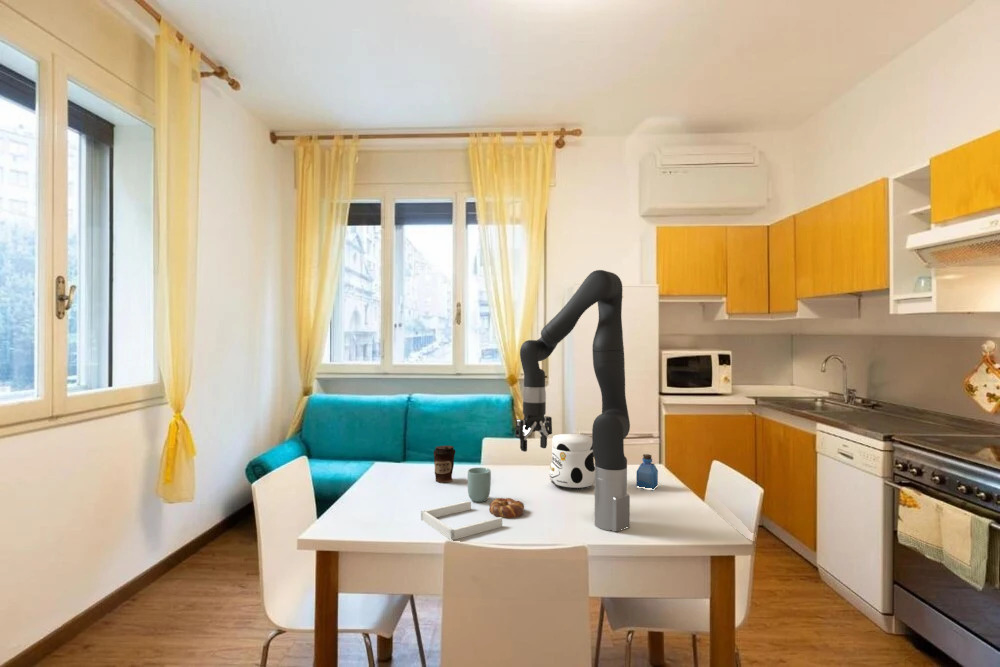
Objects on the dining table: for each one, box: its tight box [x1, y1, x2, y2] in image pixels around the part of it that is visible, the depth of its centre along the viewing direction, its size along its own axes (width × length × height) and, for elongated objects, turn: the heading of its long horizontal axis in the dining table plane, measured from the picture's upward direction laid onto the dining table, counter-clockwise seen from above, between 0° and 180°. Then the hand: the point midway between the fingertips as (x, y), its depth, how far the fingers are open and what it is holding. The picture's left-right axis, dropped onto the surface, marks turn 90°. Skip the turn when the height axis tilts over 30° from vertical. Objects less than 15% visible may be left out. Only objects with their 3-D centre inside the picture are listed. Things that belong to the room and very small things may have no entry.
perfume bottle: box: [635, 453, 659, 489], centre depth 175 cm, size 6×6×12 cm
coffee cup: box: [433, 445, 456, 483], centre depth 180 cm, size 9×8×13 cm
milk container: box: [548, 433, 595, 491], centre depth 176 cm, size 17×17×18 cm
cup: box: [467, 467, 492, 503], centre depth 158 cm, size 8×8×10 cm
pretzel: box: [488, 497, 525, 519], centre depth 148 cm, size 12×11×4 cm
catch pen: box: [420, 500, 503, 541], centre depth 138 cm, size 18×17×2 cm
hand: (533, 449), depth 155 cm, fingers open, 8 cm apart
